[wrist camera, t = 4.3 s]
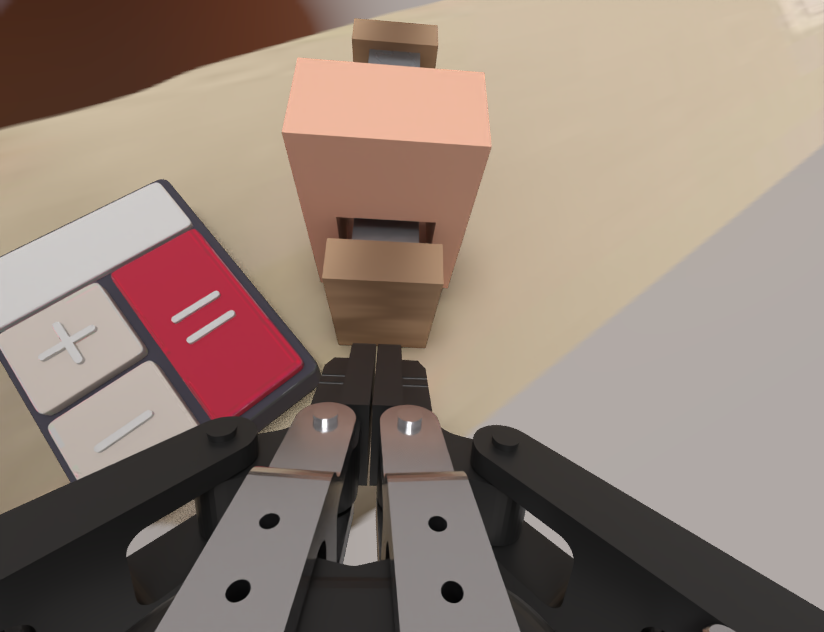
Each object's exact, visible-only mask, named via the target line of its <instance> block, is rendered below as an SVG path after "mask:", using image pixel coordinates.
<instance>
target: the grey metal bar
mask: <svg viewBox="0 0 824 632" xmlns="http://www.w3.org/2000/svg"><path fill="white" fill-rule="evenodd" d="M368 63H371V64H384V65H396V66H409V67H420V53H412V52H399V51H387V50H375V49H369V60H368ZM352 239H353V240H372V241H391V242H409V243H419V222H417V221H400V220H382V219H365V218H354V222H353V233H352Z"/></svg>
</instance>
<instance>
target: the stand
mask: <svg viewBox="0 0 824 632" xmlns="http://www.w3.org/2000/svg"><path fill="white" fill-rule="evenodd" d="M352 48H353V62H359V63H368V60H369V49H375V50H387V51H399V52H412V53H420V67H421V68H434V69H435V66H436V58H437V50H438V26H437V25H426V24H414V23H403V22H391V21H379V20H368V19H356V18H355V19H354V26H353V34H352ZM322 280H323V284H324V288H325V292H326V296H327V300H328V304H329V308H330V312H331V316H332V320H333V324H334V328H335V332H336V336H337V340H338V344H339V345H352V344H353V343H368V344H376V346H378V344H393V345H401V347H411V348H425V347H426V343H427V340H428V337H429V333H430V330H431V326H432V323H433V319H434V316H435V312H436V309H437V305H438V302H439V298H440V295H441V291H442V288H443V285H444V280H443V244H428V243H409V242H391V241H372V240H353V239H335V238H327V243H326V251H325V259H324V267H323V275H322Z"/></svg>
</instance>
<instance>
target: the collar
mask: <svg viewBox="0 0 824 632" xmlns="http://www.w3.org/2000/svg"><path fill="white" fill-rule="evenodd" d="M282 135H283V139H284V143H285V147H286V150H287V154H288V158H289V162H290V166H291V170H292V174H293V177H294V181H295V185H296V189H297V193H298V197H299V200H300V204H301V208H302V212H303V216H304V220H305V223H306V227H307V231H308V235H309V239H310V243H311V246H312V250H313V254H314V258H315V262H316V266H317V269H318V273H319V277H320V281H321V282H323V280H322V275H323V267H324V259H325V251H326V243H327V238H335V239H352V233H353V222H354V218H365V219H382V220H400V221H417V222H419V243H428V244H443V280H444V285H443V288H448V285H449V282H450V279H451V275H452V272H453V269H454V266H455V263H456V259H457V256H458V253H459V250H460V247H461V243H462V240H463V237H464V234H465V231H466V227H467V224H468V221H469V218H470V215H471V211H472V208H473V205H474V202H475V198H476V195H477V192H478V189H479V186H480V182H481V179H482V176H483V173H484V170H485V166H486V163H487V160H488V157H489V154H490V150H491V147H492V146H491V135H490V125H489V115H488V105H487V95H486V84H485V74H484V72H471V71H459V70H446V69H434V68H421V67H409V66H396V65H384V64H371V63H359V62H346V61H334V60H321V59H309V58H297V63H296V67H295V72H294V77H293V82H292V86H291V91H290V96H289V100H288V105H287V110H286V115H285V119H284V124H283V129H282Z"/></svg>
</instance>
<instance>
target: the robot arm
mask: <svg viewBox="0 0 824 632" xmlns="http://www.w3.org/2000/svg"><path fill="white" fill-rule="evenodd" d="M375 365H376V373H375ZM371 432H372V433H371ZM370 443H371V460H370V486H377V498H376V531H377V557H378V561H376V562H373V563H368V564H364V565H359V566H348V565H344V564H343V561H344V556H345V552H346V547H347V542H348V537H349V533H350V528H351V523H352V519H353V514H354V501H355V499H356V496H357V490H358V485H363V486H367V478H368V466H369V455H370ZM193 499H194V500H195V507H196V515H194V516H192V517H191V518H189V519H188V520H186V521H184V522H183V523H181V524H180V525H178V526H176V527H175V528H173V529H172V530H170V531H168V532H167V533H165V534H164V535H162V536H160V537H159V538H157V539H155V540H154V541H152V542H151V543H149V544H147V545H146V546H144V547H143V548H141V549H139V550H138V551H136V552H135V553H133V554H132V555H130V556H128V557H126V552H127V548H128V546H129V544H130V542H131V541H132V540H133V538H134V537H135V536H136V535H137V534H138V533H139V532H140V531H142V530H143V529H144V528H146V527H147V526H149V525H151V524H152V523H154V522H156V521H158V520H159V519H161V518H163V517H164V516H166V515H168V514H169V513H171V512H173V511H174V510H176V509H178V508H180V507H181V506H183V505H185V504H186V503H188V502H190V501H191V500H193ZM525 510H527V511H529V512H530V513H531V514H532V515H534V516H535V517H536V518H538V519H539V520H540V521H542V522H543V523H544V524H546V525H547V526H549V527H550V528H551V529H552V530H554V531H555V532H556V533H558V534H559V535H560V536H562V538H564V540H565V541H566V542H567V543H568V545H569V546H570V548H571V550H572V553H573V557H574V559H573V558H572V557H571V556H569V555H568V554H567V553H565V552H564V551H563V550H561V549H560V548H559V547H558V546H556V545H555V544H554V543H552V542H551V541H550V540H548V539H547V538H546V537H545V536H543V535H542V534H541V533H540V532H538V531H537V530H536V529H534V528H533V527H532V526H530V525H529V524H528V523H527V522H525V521H524V515H525ZM0 632H824V611H823V610H821V609H819V608H818V607H816V606H814V605H813V604H810V603H809V602H807V601H806V600H804V599H802V598H801V597H799V596H797V595H796V594H794V593H792V592H790V591H789V590H787V589H786V588H784V587H782V586H780V585H779V584H777V583H775V582H774V581H772V580H770V579H769V578H767V577H765V576H764V575H762V574H760V573H759V572H757V571H755V570H753V569H752V568H750V567H749V566H747V565H745V564H743V563H742V562H740V561H738V560H736V559H735V558H733V557H732V556H730V555H728V554H727V553H725V552H723V551H722V550H720V549H718V548H717V547H715V546H713V545H711V544H710V543H708V542H706V541H705V540H703V539H701V538H700V537H698V536H696V535H695V534H693V533H691V532H690V531H688V530H686V529H685V528H683V527H681V526H679V525H678V524H676V523H674V522H673V521H671V520H669V519H668V518H666V517H664V516H662V515H661V514H659V513H658V512H656V511H654V510H653V509H651V508H649V507H647V506H646V505H644V504H642V503H641V502H639V501H637V500H636V499H634V498H632V497H631V496H629V495H627V494H625V493H624V492H622V491H621V490H619V489H617V488H615V487H614V486H612V485H610V484H609V483H607V482H605V481H604V480H602V479H600V478H599V477H597V476H595V475H594V474H592V473H590V472H589V471H587V470H585V469H584V468H582V467H580V466H578V465H577V464H575V463H573V462H572V461H570V460H568V459H567V458H565V457H563V456H562V455H560V454H558V453H557V452H555V451H553V450H551V449H550V448H548V447H547V446H545V445H543V444H541V443H540V442H538V441H536V440H535V439H533V438H531V437H530V436H528V435H526V434H525V433H523V432H521V431H519V430H517V429H514V428H511V427H507V426H501V425H491V426H486V427H483V428H480V429H479V430H477V432H476V433H475V434H474V437H473V439H469V438H465V437H461V436H458V435H454V434H452V433H449V432H447V431H446V430H444V429H443V428H441V426H440V423H439V420H438V418H437V416H436V415H435V414H434V413H433V412H432V408H431V401H430V395H429V389H428V382H427V376H426V370H425V368H424V367H423V366H422V365H421V364H420V363H419V362H418V361H411V360H402V354H401V345H393V344H378V351H377V362H376V344H368V343H353V344H352V348H351V352H350V357H349V358H333V359H332V360H331V361H329V362H328V363H327V364H326V365H325V366H324V369H323V372H322V376H321V378H320V380H319V383H318V386H317V389H316V392H315V395H314V397H313V400H312V403H311V405H310V406H307V407H305V408H304V409H302V410H301V411H300V412H299V413H298V414H297V415H296V417H295V418H294V420H293V422H292V424H291V426H290V427H289V428H286V429H283V430H278V431H273V432H267V433H261V434H258V431H257V426H256V424H255V423H254V422H253V421H251V420H249V419H247V418H244V417H238V416H227V417H220V418H216V419H212V420H209V421H207V422H204V423H202V424H200V425H198V426H196V427H193V428H191V429H189V430H187V431H184V432H182V433H180V434H178V435H176V436H173V437H171V438H169V439H167V440H165V441H162V442H160V443H158V444H156V445H154V446H151V447H149V448H147V449H145V450H142V451H140V452H138V453H136V454H134V455H131V456H129V457H127V458H125V459H123V460H120V461H118V462H116V463H114V464H111V465H109V466H107V467H105V468H103V469H100V470H98V471H96V472H94V473H92V474H89V475H87V476H85V477H83V478H81V479H78V480H76V481H74V482H72V483H69V484H67V485H65V486H63V487H61V488H58V489H56V490H54V491H52V492H50V493H47V494H45V495H43V496H41V497H38V498H36V499H34V500H32V501H30V502H27V503H25V504H23V505H21V506H19V507H16V508H14V509H12V510H10V511H8V512H5V513H3V514H1V515H0Z"/></svg>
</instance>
